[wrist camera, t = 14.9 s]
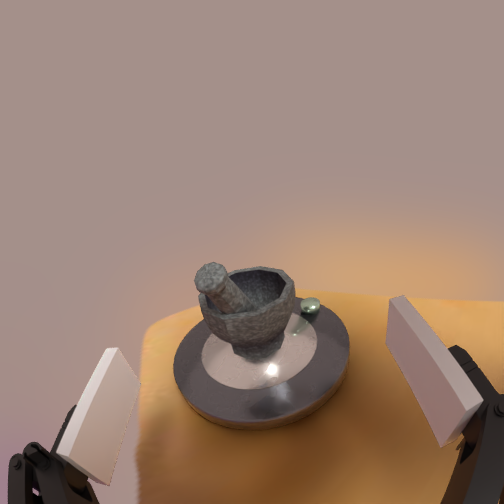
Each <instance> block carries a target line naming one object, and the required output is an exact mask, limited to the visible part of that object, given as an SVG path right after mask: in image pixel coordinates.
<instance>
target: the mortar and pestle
mask: <svg viewBox="0 0 504 504" xmlns="http://www.w3.org/2000/svg"><path fill="white" fill-rule="evenodd" d="M194 282H195V285H196V288H197V290H198V291H199V292H200V295H199V296H198V297H199V302H200V307H201V312H202V314H203V317H204V320H205V322H206V324H207V326H208V327H209V329H210V331H211V332H212V333H213V334H214V335H215V336H217V337H218V338H220V339H221V340H223V341H225V342H228V343H230V344H231V346H232V349H233V352H234V354H236V355H238V356H241V357H243V358H245V359H257V358H266V357H267V356H269V355H271V354H272V353H274V352H275V351H277V350H279V349H280V348H281V346H282V343H283V341H284V338H285V334H284V331H285V329H286V326H287V324H288V322H289V319H290V317H291V314H292V312H293V309H294V306H295V287H294V281H293V280H292V279H291V278H290V277H289V276H288V275H287V274H286V273H285V272H284V271H283V270H279V269H274V268H268V267H261V266H259V267H253V268H247V269H240V270H235V271H232V272H230V273H227V271H226V269H225V267H224V266H223V265H221V264H217V263H215V262H212V263H209V264H205V265H204V266H203V267H202V268H201V269H200V270H198V271H197V274H196V277H195V280H194Z"/></svg>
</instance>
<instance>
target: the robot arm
mask: <svg viewBox="0 0 504 504" xmlns="http://www.w3.org/2000/svg"><path fill="white" fill-rule="evenodd" d="M386 345H387V347H388V348H389V350H390V352H391V354H392V355H393V357H394V359H395V361H396V362H397V364H398V366H399V368H400V369H401V371H402V373H403V375H404V377H405V379H406V380H407V382H408V384H409V386H410V388H411V390H412V391H413V393H414V395H415V397H416V399H417V401H418V403H419V405H420V407H421V409H422V411H423V413H424V415H425V417H426V419H427V421H428V423H429V425H430V427H431V429H432V431H433V433H434V435H435V437H436V439H437V442H438V444H439V446H440V448H442V447H444V446H445V445H447V444H449V443H451V442H453V441H455V440H456V439H457V438H458V437H459V435H460V434H461V433H462V434H463V436H464V439H463V440H462V441H461V442H460V444H459V445H458V446H457V448H456V450H459V448H460V447H461V449H460V452H459V456H458V459H457V462H456V465H455V468H454V471H453V474H452V476H451V479H450V482H449V484H448V487H447V489H446V492H445V494H444V497H443V499H442V501H441V504H498V501H499V504H504V394H498V392H497V391H496V390H495V389H494V387H493V386H492V385H491V383H490V382H489V380H488V379H487V378H486V376H485V375H484V374H483V372H482V371H481V370H480V368H478V366H477V364H476V363H475V362H474V361H473V360H472V358H471V357H470V355H469V354H468V353H467V351H466V350H464V349H462V348H461V347H459V346H457V345H455V346H452V347H450V348H448V349H447V348H446V346H445V345H444V344H443V342H442V341H441V340H440V339H439V337H438V336H437V335H436V334H435V332H434V331H433V330H432V329H431V327H430V326H429V325H428V324H427V322H426V321H425V320H424V319H423V317H422V316H421V315H420V314H419V313H418V311H417V310H416V309H415V308H414V307H413V306H412V304H411V303H410V302H409V301H408V300H407V299H406V297H405V296H404V295H402V296H399V297H395V298H392V299H389V312H388V324H387V334H386ZM140 386H141V383H140V381H139V380H138V378H137V377H136V375H135V374H134V372H133V371H132V369H131V368H130V366H129V365H128V363H127V361H126V360H125V358H124V357H123V355H122V354H121V352H120V350H119V348H107V349H106V350H105V353H104V354H103V356H102V358H101V360H100V362H99V363H98V365H97V367H96V369H95V371H94V373H93V375H92V377H91V378H90V380H89V382H88V384H87V386H86V388H85V390H84V392H83V394H82V396H81V398H80V400H79V402H78V404H77V405H75V406H74V407H73V408H72V409H71V410H70V411H69V412H68V414H67V417H66V419H65V422H64V423H63V425H62V429H60V432H59V434H58V436H57V438H56V441H55V443H54V445H53V447H52V450H51V452H50V453H49V452H48V451H47V450H46V449H44V448H43V447H42V446H41V445H40V444H39V443H37V442H31V443H29V444H28V445H27V446H26V447H25V448H24V450H23V454H19V453H18V454H15V455H13V456H12V458H11V459H10V462H9V472H8V504H99V502H98V500H97V497H96V495H95V493H94V491H93V488H92V486H91V484H90V483H89V482H88V481H87V480H88V477H89V478H90V479H92V480H94V481H95V482H97V483H100V484H104V485H107V486H109V485H110V482H111V478H112V474H113V471H114V467H115V464H116V460H117V457H118V453H119V450H120V447H121V444H122V440H123V437H124V434H125V431H126V428H127V424H128V421H129V418H130V415H131V412H132V409H133V406H134V403H135V400H136V397H137V394H138V392H139V389H140ZM32 488H34V489H35V490H37V491H38V492H39V495H38V496H37V495H36V494H34V493H33V491H32ZM499 498H500V500H499Z"/></svg>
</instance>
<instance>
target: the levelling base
mask: <svg viewBox="0 0 504 504" xmlns="http://www.w3.org/2000/svg"><path fill="white" fill-rule="evenodd" d="M284 334H285V338H284V341H283V343H282V346H281V348H280V349H279V350H277V351H275V352H274V353H272V354H271V355H269V356H267V357H266V358H257V359H245V358H243V357H241V356H238V355H236V354H234V352H233V349H232V346H231V344H230V343H228V342H225V341H223V340H221V339H220V338H218V337H217V336H215V335H214V334H213V333H212V332H211V331H210V329H209V327H208V326H207V324H206V322H205V320H204V319H203V320H202V321H201V322H199V323H198V324H197V325H196V326H195V327H194V328H192V329H191V330H190V332H189V333H188V334H187V335H186V336H185V337H184V339H183V340H182V342H181V343H180V345H179V347H178V349H177V352H176V355H175V358H174V364H173V367H174V376H175V380H176V383H177V385H178V387H179V389H180V391H181V392H182V394H183V396H184V397H185V399H186V400H187V402H188V403H189V405H190V406H191V407H192V408H193V409H194V410H195V411H196V412H197V413H199V414H200V415H201V416H203V417H204V418H206V419H208V420H210V421H212V422H214V423H216V424H219V425H222V426H225V427H229V428H234V429H240V430H262V429H271V428H275V427H280V426H284V425H287V424H290V423H293V422H295V421H298V420H300V419H302V418H304V417H306V416H308V415H310V414H311V413H313V412H314V411H316V410H317V409H319V408H320V407H321V406H322V405H324V404H325V403H326V402H327V401H328V400H329V399H330V398H331V397H332V396H333V395H334V393H335V392H336V391H337V390H338V388H339V387H340V385H341V383H342V382H343V380H344V377H345V375H346V372H347V368H348V364H349V337H348V333H347V330H346V328H345V326H344V324H343V322H342V321H341V319H340V318H339V317H338V316H337V315H336V314H335V313H334V312H332V311H331V310H330V309H328V308H326V307H325V306H323V305H321V304H320V301H319V300H318V299H317V298H312V297H311V298H306V299H303V298H297V297H295V306H294V309H293V312H292V314H291V317H290V319H289V322H288V324H287V326H286V329H285V331H284Z"/></svg>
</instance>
